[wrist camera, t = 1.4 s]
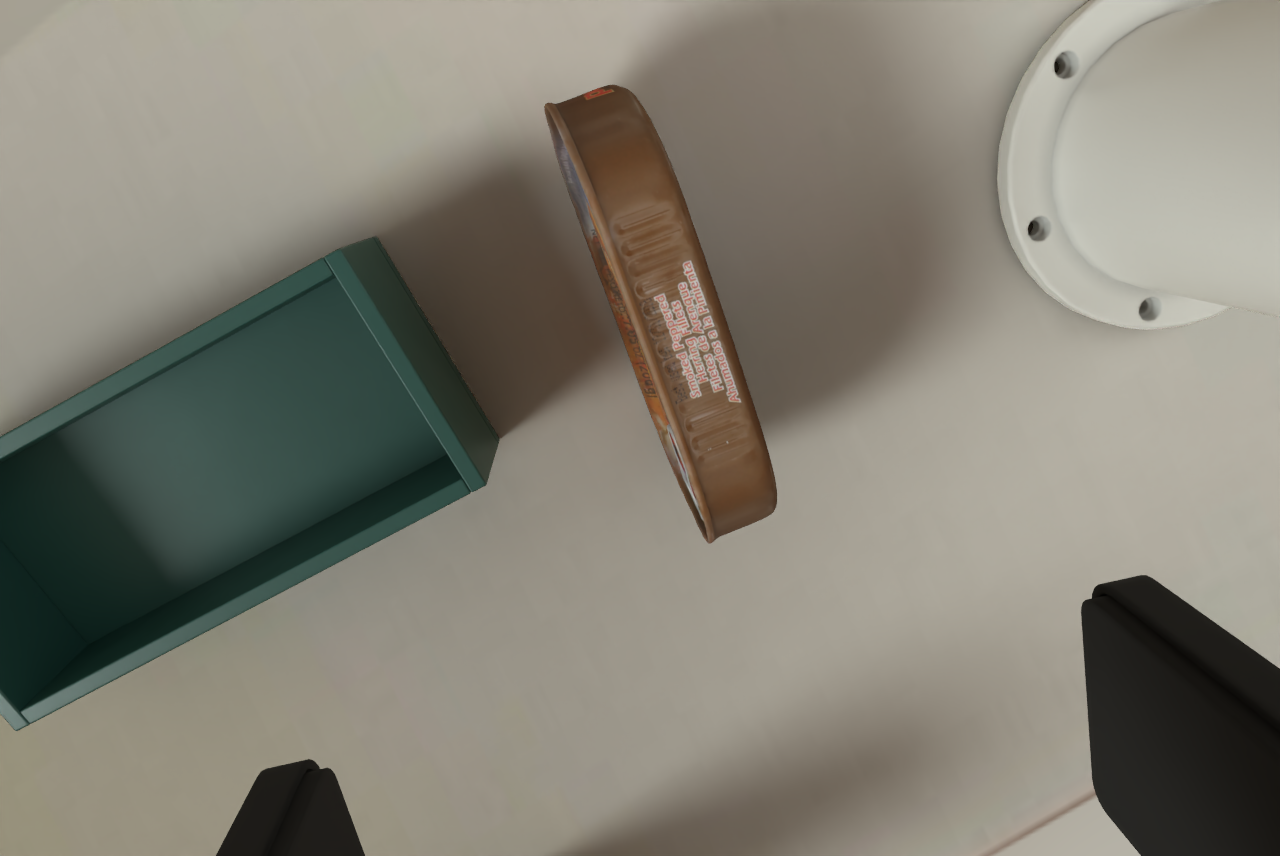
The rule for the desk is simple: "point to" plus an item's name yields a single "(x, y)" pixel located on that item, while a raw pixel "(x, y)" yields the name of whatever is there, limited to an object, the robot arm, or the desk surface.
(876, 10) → the desk surface
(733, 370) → the tin
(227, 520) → the box
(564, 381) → the desk surface
